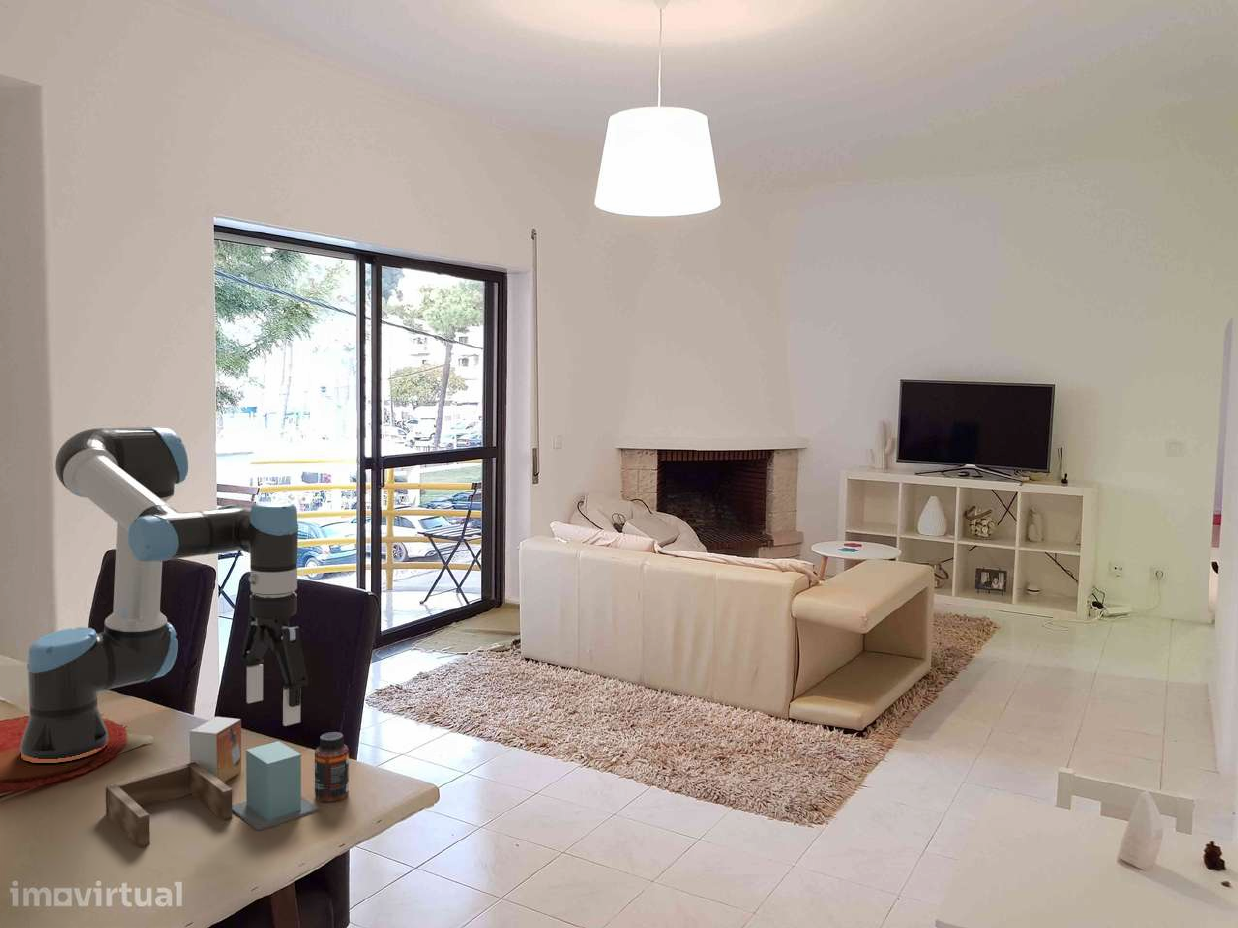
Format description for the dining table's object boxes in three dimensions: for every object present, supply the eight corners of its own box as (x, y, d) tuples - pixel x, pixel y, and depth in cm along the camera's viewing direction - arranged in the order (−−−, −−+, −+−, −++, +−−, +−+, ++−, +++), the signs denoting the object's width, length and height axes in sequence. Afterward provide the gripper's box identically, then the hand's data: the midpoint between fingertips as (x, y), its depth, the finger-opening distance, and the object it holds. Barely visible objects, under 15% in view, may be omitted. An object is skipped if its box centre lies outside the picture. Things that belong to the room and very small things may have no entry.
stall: (106, 813, 160) (105, 785, 160) (195, 788, 171) (194, 761, 171) (139, 846, 150) (139, 816, 149) (232, 817, 160) (232, 789, 160)
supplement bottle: (356, 793, 171) (356, 733, 170) (333, 806, 166) (333, 744, 165) (330, 786, 174) (330, 727, 172) (307, 798, 168) (307, 738, 167)
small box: (216, 789, 171) (215, 733, 170) (189, 786, 172) (188, 730, 171) (242, 771, 179) (242, 718, 178) (216, 768, 180) (215, 715, 179)
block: (278, 794, 169) (278, 740, 168) (300, 809, 163) (300, 754, 162) (246, 804, 164) (246, 749, 163) (267, 820, 159) (267, 763, 158)
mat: (229, 808, 163) (229, 806, 163) (288, 789, 171) (288, 787, 171) (258, 830, 156) (258, 828, 156) (318, 810, 164) (318, 807, 164)
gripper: (220, 581, 166) (220, 697, 168) (287, 611, 149) (286, 739, 151) (261, 576, 171) (260, 688, 174) (330, 603, 154) (329, 727, 157)
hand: (272, 712), depth 162 cm, fingers open, 13 cm apart
